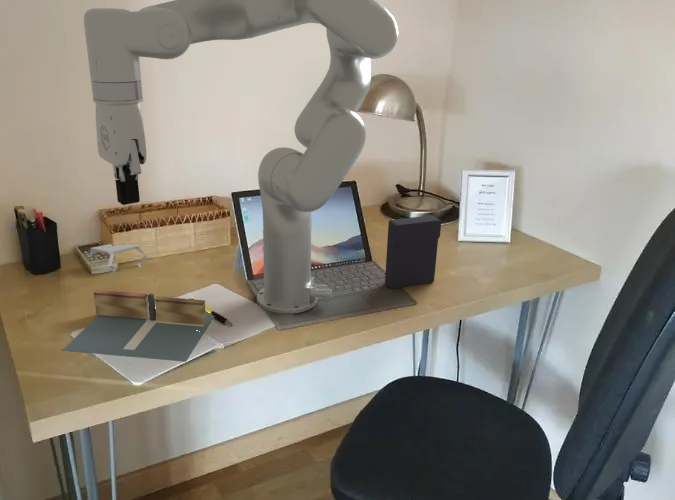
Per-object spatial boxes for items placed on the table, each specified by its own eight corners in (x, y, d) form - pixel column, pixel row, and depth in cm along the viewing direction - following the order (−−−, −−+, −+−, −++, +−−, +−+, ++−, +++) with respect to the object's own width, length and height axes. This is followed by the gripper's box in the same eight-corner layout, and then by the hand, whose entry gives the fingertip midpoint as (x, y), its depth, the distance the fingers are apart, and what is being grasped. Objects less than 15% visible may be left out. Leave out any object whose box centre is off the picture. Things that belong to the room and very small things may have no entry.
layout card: (217, 313, 121) (217, 311, 121) (186, 363, 105) (185, 360, 105) (110, 305, 124) (109, 303, 123) (62, 352, 107) (62, 350, 107)
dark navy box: (425, 275, 141) (431, 213, 135) (435, 283, 137) (441, 220, 132) (382, 282, 137) (386, 218, 131) (391, 290, 133) (396, 225, 128)
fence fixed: (206, 322, 117) (204, 297, 115) (204, 325, 116) (202, 300, 114) (151, 317, 118) (149, 293, 116) (148, 320, 117) (146, 296, 115)
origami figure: (94, 279, 135) (91, 258, 133) (90, 265, 142) (87, 245, 140) (150, 270, 140) (148, 250, 138) (143, 257, 147) (141, 237, 145)
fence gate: (149, 315, 118) (147, 293, 116) (146, 318, 117) (144, 296, 115) (99, 311, 119) (96, 289, 117) (96, 314, 118) (93, 292, 116)
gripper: (78, 87, 101) (91, 195, 108) (110, 100, 90) (123, 218, 97) (123, 84, 105) (133, 188, 112) (159, 96, 95) (168, 210, 102)
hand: (128, 202), depth 105 cm, fingers closed
